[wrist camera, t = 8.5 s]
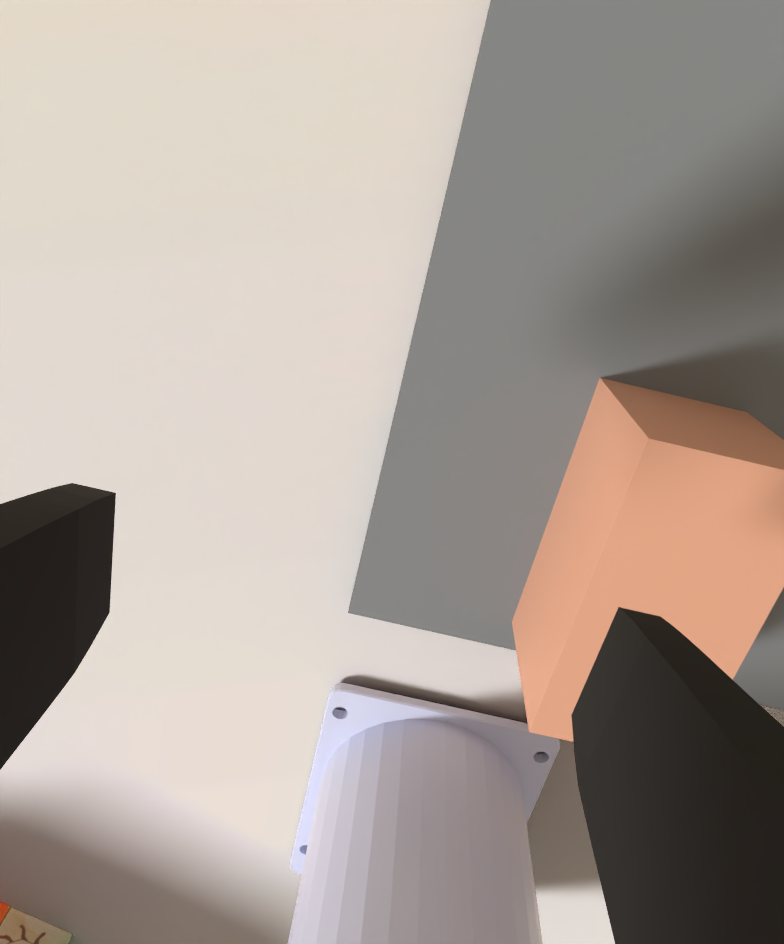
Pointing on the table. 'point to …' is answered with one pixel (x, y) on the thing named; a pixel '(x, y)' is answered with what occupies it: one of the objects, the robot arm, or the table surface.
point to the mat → (582, 287)
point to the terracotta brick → (652, 540)
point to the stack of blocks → (28, 929)
